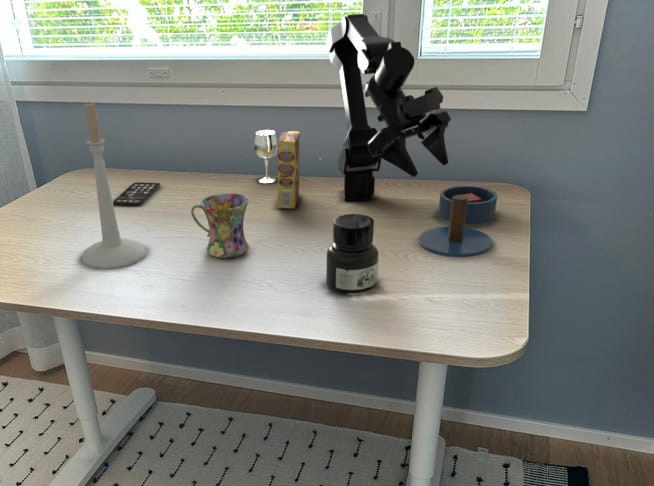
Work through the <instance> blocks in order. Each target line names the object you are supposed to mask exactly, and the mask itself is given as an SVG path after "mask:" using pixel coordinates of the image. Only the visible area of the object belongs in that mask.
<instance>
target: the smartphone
mask: <svg viewBox="0 0 654 486" xmlns="http://www.w3.org/2000/svg"><path fill="white" fill-rule="evenodd" d="M160 186H161V184H160V183H159V182H141V181H140V182H139V181H138V182H133V183H132V184H131V185H129V186H128V187H127V188H126V189H125V190H124V191H123V192H122V193H121V194H120V195H119V196H118V197H117V198H115V199H113V200H112V201H113V206H114V205H115V206H141V205H142V204H144V203H145V201H147V200H148V199H149V198H150V196H152V194H153V193H155V191H157V190H158V189H159V187H160Z"/></svg>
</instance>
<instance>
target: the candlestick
mask: <svg viewBox="0 0 654 486" xmlns="http://www.w3.org/2000/svg"><path fill="white" fill-rule="evenodd" d="M83 107H84V113H85V119H86V127H87V131H88V138H89V140H88V141H86V142H85V144H86V145H88V147H89V152H90V153H91V154H92V156H93V169H94V177H95V185H96V186H95V187H96V193H97V201H98V209H99V210H98V212H99V219H100V227H101V236H102V238H101V240H100V241H97V242H95V243H93V244H92V245H90V246H89V247H87V248H86V249H85V250H84V251H83V252H82V255H81V259H82V262H83V264H85V265H86V266H87V267H90V268H94V269H100V270H101V269H102V270H103V269H104V270H105V269H106V270H108V269H118V268H119V269H120V268H123V267H128V266H131V265H133V264H136V263H137V262H139V261H141V260H142V259H143V258H144V257H145V256H146V247H145V246H144V245H143V244H142V243H141V242H138V241H137V240H134V239H132V238H131V239H130V238H122V237H121V234H120V230H119V229H120V228H119V225H118V220H117V216H116V210H115V206H114V204H113V201H114V200H113V197H112V191H111V187H110V183H109V177H108V172H107V169H106V164H105V163H106V162H105V160H104V158H103V154H104V153H103V152H104V151H105V148H104V144H105V143H106V140H105V139H102V138H101V133H100V132H101V131H100V126H99V120H98V113H97V107H96V104H95V103H93V102H90V101H88V102H87V103H84V105H83Z"/></svg>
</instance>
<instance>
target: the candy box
mask: <svg viewBox="0 0 654 486" xmlns="http://www.w3.org/2000/svg"><path fill="white" fill-rule="evenodd" d="M300 135H301V132H300V131H296V130H295V131H282V132H281V135H280V137H279V139H278V140H277V146H278V148H277V209H288V210H289V209H290V210H291V209H293V210H294V209H295V208H296V205H297V202H298V199H299V197H300V142H301V141H300V140H301V139H300V137H301V136H300Z"/></svg>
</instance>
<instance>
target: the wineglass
mask: <svg viewBox="0 0 654 486" xmlns="http://www.w3.org/2000/svg"><path fill="white" fill-rule="evenodd" d="M253 146H254V153H255V154H256V156H257V157H259V158H260V159H264V167H265V176H263V177H261V178H259V179H258V182H259V183H261V184H271V183H274V182H276V181H277V179H276V177H272V176H271V177H270V176H269V160H268V159H271V158H273V157H275V156H276V154H277V153H278V139H277V134H276V131H275V130H270V129H264V130H258V131H256V132H255V137H254V145H253Z"/></svg>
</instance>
